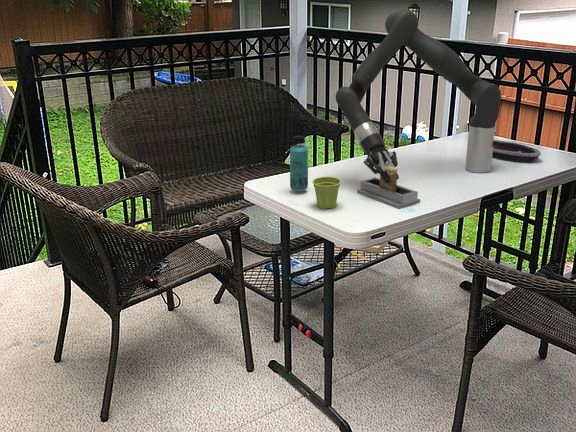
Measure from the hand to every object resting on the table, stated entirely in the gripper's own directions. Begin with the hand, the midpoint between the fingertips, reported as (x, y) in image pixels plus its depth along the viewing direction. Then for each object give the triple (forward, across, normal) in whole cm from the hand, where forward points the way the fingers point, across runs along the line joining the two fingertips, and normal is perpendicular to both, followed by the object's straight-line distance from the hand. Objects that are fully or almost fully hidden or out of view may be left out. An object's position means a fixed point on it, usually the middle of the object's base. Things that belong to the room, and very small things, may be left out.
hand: (392, 180), depth 199 cm
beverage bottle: (-13, -20, +23) cm, 33 cm away
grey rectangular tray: (+3, 0, +6) cm, 7 cm away
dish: (-1, +73, +11) cm, 74 cm away
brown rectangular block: (+2, 0, +5) cm, 5 cm away
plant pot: (-1, -21, +11) cm, 24 cm away
